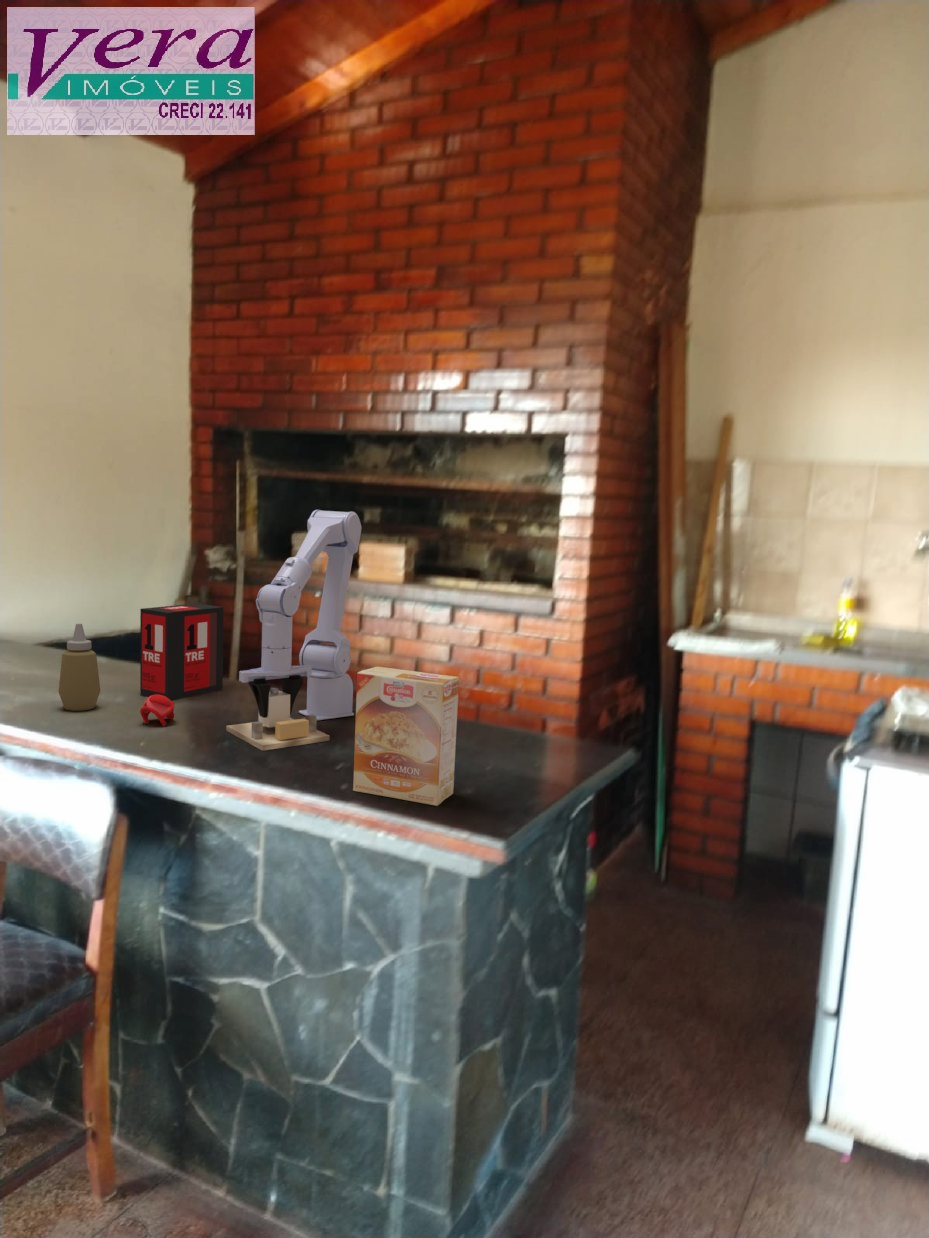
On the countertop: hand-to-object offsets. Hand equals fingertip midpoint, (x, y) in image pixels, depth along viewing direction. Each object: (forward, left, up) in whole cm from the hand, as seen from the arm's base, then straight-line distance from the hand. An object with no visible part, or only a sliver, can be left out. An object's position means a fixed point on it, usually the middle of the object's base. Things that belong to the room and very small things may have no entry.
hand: (275, 714), depth 167 cm
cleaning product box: (+2, -43, -4) cm, 43 cm away
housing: (0, 0, -2) cm, 2 cm away
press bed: (0, +1, -4) cm, 4 cm away
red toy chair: (+16, -19, -4) cm, 25 cm away
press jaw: (0, +7, -3) cm, 7 cm away
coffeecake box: (-2, +41, -4) cm, 41 cm away
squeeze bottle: (+26, -38, -4) cm, 46 cm away
